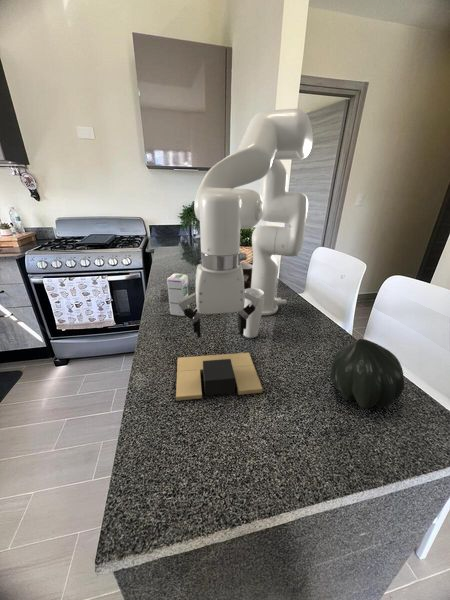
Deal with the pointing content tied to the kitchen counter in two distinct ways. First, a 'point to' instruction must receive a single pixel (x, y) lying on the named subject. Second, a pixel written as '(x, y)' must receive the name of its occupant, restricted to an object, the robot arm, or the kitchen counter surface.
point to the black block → (218, 377)
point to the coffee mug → (247, 274)
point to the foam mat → (193, 367)
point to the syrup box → (177, 292)
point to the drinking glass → (254, 314)
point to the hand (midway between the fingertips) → (219, 332)
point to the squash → (367, 374)
